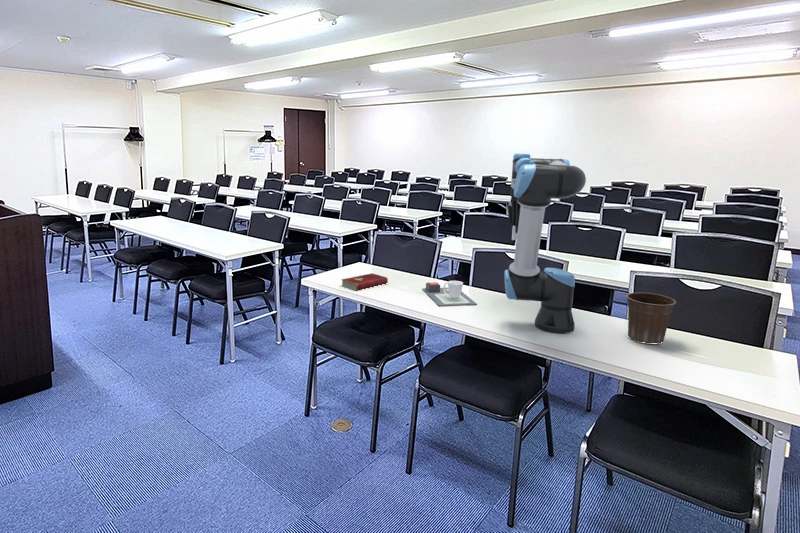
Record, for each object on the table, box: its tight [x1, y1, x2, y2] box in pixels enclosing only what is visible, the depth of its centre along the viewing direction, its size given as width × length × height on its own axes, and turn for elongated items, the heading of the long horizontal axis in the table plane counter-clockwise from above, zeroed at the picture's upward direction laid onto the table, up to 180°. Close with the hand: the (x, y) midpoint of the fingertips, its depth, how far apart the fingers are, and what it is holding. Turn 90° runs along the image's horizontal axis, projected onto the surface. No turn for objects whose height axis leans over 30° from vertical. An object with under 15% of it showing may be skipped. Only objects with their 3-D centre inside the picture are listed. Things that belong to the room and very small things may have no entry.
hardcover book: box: [341, 273, 389, 292], centre depth 244 cm, size 12×21×4 cm, turn 136°
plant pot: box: [626, 292, 677, 344], centre depth 178 cm, size 16×16×16 cm
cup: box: [442, 280, 464, 301], centre depth 222 cm, size 7×10×8 cm
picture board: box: [421, 287, 478, 308], centre depth 227 cm, size 28×18×1 cm, turn 13°
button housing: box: [425, 281, 441, 293], centre depth 234 cm, size 6×6×4 cm
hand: (514, 239), depth 222 cm, fingers closed
